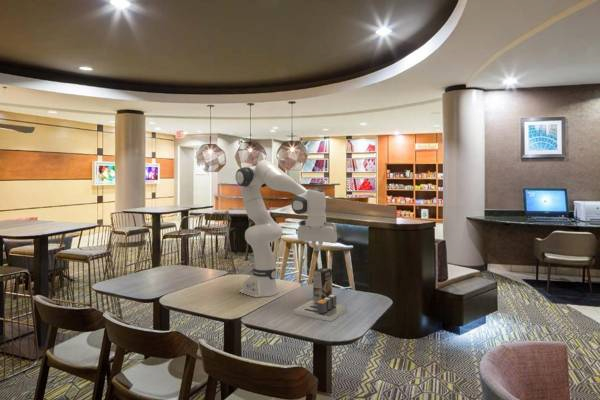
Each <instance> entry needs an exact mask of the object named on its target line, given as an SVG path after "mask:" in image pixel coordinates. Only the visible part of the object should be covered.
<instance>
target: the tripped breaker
mask: <svg viewBox="0 0 600 400" xmlns="http://www.w3.org/2000/svg"><path fill="white" fill-rule="evenodd" d="M326 311H327V300H322V299H321V300H319V301H317V312H318V313H324V312H326Z"/></svg>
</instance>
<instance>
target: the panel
mask: <svg viewBox="0 0 600 400" xmlns="http://www.w3.org/2000/svg"><path fill="white" fill-rule="evenodd" d="M346 312H348V307H347V306H345V305H340V304H336V305H335V306H334V307H332V308H331V309H329V310H327V311H326V312H324V313H318V312H317V301H314V300H313V299H312V300H309V301H307V302H306V303H303V304H302V305H299V306H297V307H296V308H295V309H293V314H294V315H298V316H302V317H307V318H312V319H317V320H321V321H327V322H331V323H332V322H333V321H334V320H336V319H337V318H339V317H340V316H342V315H343V314H345V313H346Z"/></svg>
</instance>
